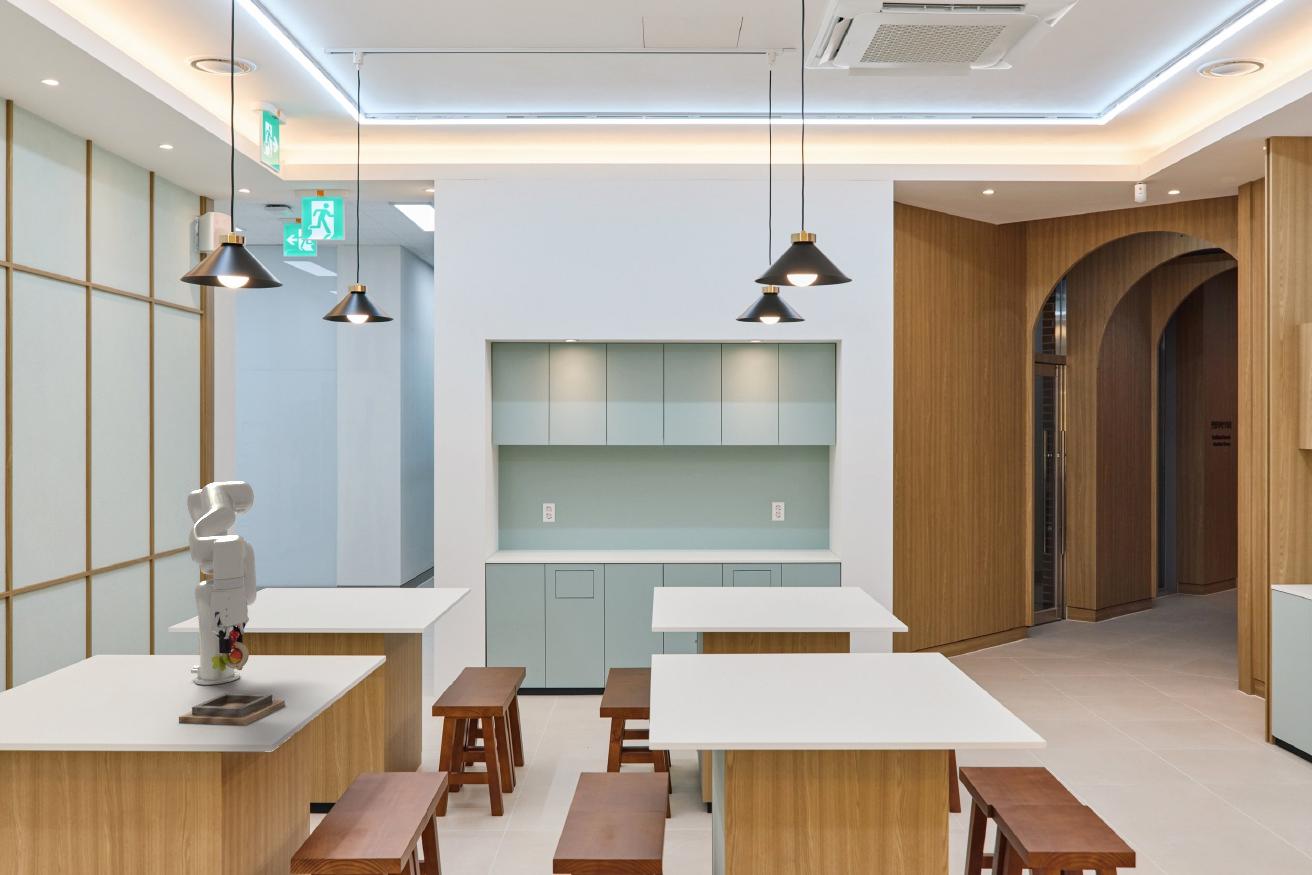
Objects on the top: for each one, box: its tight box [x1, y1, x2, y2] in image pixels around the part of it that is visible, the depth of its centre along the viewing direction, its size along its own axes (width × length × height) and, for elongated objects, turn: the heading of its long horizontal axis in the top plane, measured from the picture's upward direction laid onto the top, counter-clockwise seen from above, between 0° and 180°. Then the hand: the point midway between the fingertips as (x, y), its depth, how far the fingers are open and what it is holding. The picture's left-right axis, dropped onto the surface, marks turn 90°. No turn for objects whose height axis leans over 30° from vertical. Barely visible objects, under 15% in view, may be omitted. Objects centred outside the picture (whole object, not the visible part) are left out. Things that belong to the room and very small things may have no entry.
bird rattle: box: [212, 630, 250, 671], centre depth 246 cm, size 6×11×9 cm
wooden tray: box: [178, 692, 286, 726], centre depth 246 cm, size 20×17×4 cm
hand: (231, 650), depth 246 cm, fingers closed on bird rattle, 4 cm apart
